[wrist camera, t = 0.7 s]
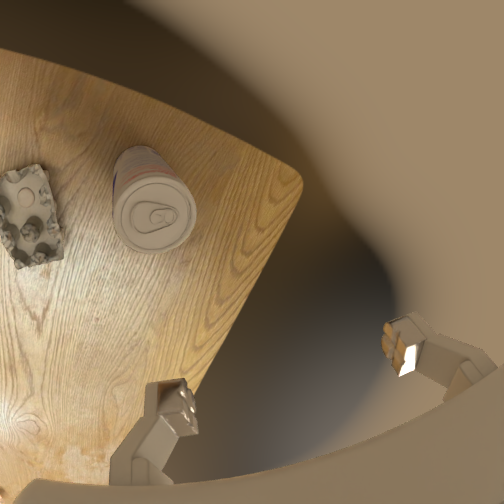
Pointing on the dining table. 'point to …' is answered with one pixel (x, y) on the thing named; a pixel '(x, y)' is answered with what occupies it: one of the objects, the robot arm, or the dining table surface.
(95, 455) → the dining table surface
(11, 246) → the egg carton
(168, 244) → the beverage can
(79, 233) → the dining table surface
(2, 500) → the bowl
